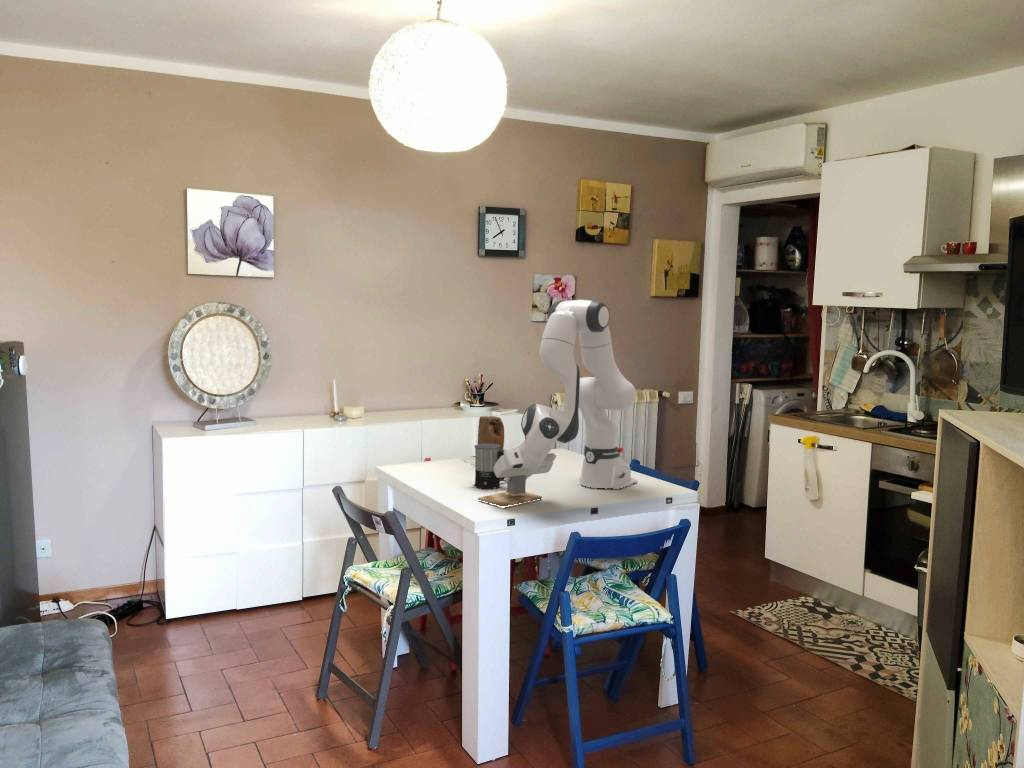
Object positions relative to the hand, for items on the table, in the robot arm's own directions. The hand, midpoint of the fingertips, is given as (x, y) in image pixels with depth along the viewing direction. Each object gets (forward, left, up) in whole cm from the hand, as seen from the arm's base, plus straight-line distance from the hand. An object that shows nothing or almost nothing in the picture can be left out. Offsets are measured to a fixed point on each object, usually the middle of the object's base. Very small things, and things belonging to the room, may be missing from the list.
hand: (515, 479), depth 275 cm
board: (+3, +1, -7) cm, 7 cm away
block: (-28, -43, -7) cm, 52 cm away
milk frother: (-9, -21, -7) cm, 24 cm away
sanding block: (0, +1, -5) cm, 5 cm away
